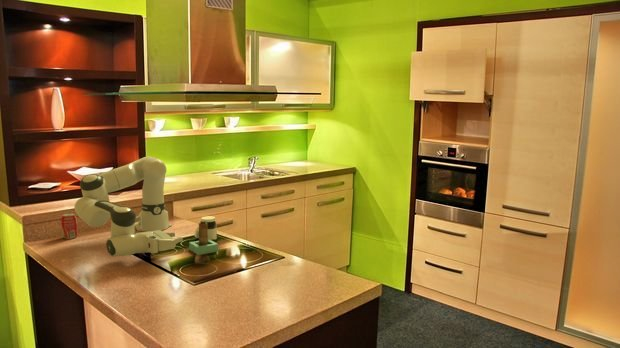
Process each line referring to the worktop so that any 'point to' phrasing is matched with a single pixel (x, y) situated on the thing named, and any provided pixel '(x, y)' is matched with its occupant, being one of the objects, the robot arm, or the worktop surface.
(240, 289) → the worktop surface
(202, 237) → the brown textured cylinder
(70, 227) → the soda can
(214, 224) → the spread jar
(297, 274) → the worktop surface
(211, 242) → the teal square tray
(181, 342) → the worktop surface
